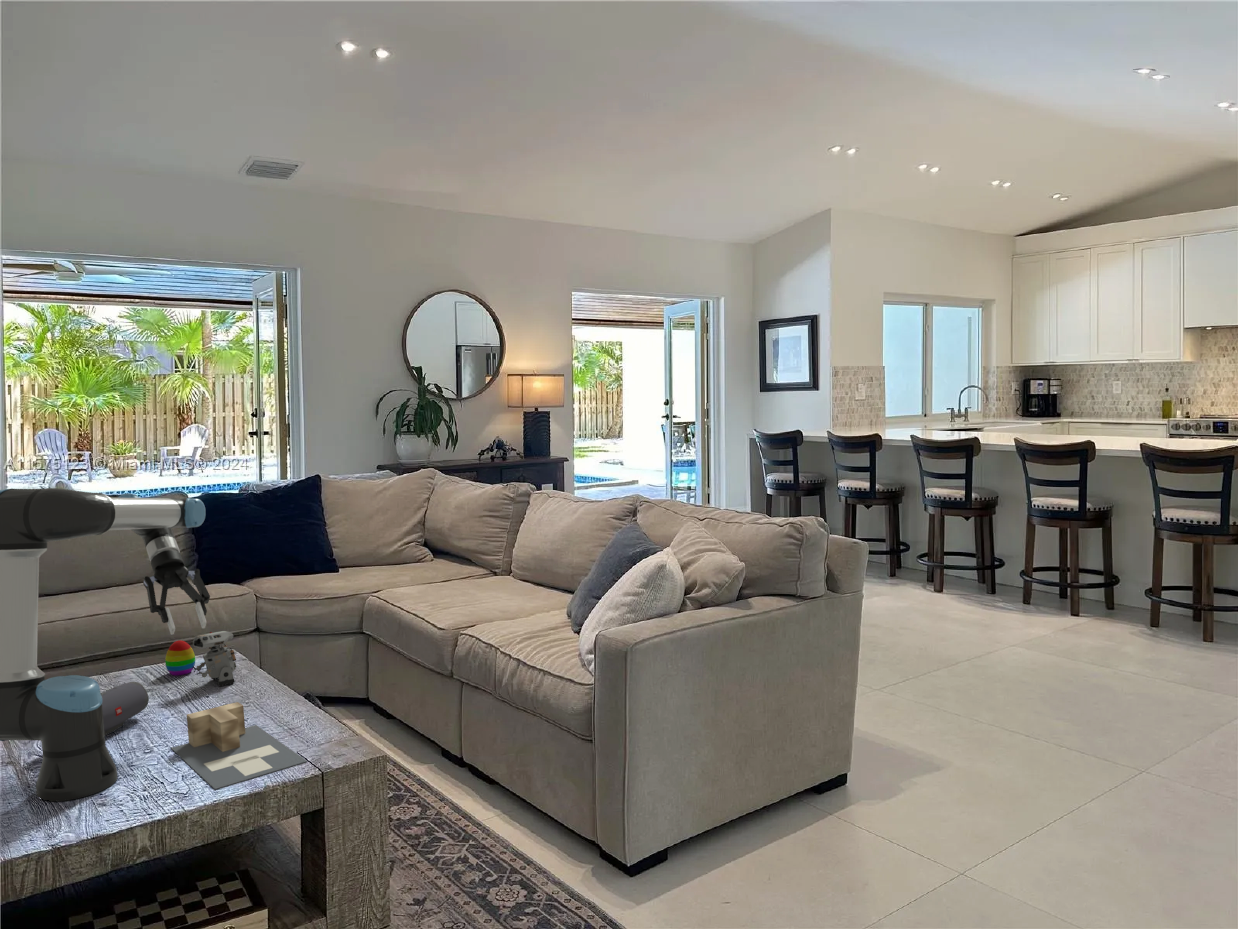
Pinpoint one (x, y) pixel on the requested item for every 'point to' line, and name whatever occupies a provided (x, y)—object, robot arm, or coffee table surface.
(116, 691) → the bluetooth speaker
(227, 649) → the figurine
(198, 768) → the mat
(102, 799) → the coffee table surface
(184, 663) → the decorative egg
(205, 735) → the t block
